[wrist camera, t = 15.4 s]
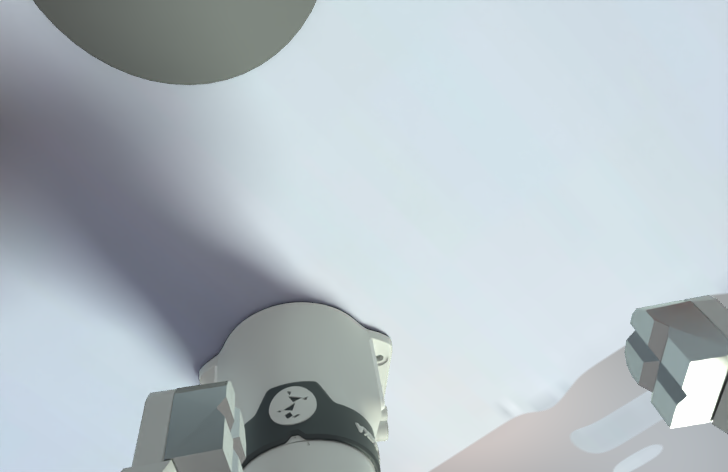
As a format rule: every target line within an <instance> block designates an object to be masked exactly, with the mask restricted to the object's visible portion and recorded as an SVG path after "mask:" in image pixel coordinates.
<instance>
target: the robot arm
mask: <svg viewBox="0 0 728 472" xmlns="http://www.w3.org/2000/svg"><path fill="white" fill-rule="evenodd" d="M630 324H631V325H632V326H633V328H634V329H635V331H634V332H633V334H632V335H631V336H630V337H629V338H628V339H627V340H626V347H625V357H626V363H627V366H628V368H629V371H630V373H631V375H632V376H633V378H634V379H635V381H636V382H637V384H638V385H640V386H641V387H643V388H645V389H647V390H649V391H651V392H652V395H651V403H652V404H653V406H654V407H655V408H656V410H657V411H658V413H659V414H660V415H661V417H662V418H663V419H664V421H665V422H666V423H667V425H668V426H669V427H670V428H676V427H683V426H689V425H695V424H701V423H706V422H712V424H713V425H714V426H716V427H717V428H719V429H721V430H722V431H724V432H725V433H727V434H728V309H727V308H726V307H725V306H724V305H723V304H722V303H720V301H718V300H717V299H716V298H714V297H712V296H710V295H706V296H701V297H695V298H690V299H685V300H679V301H674V302H669V303H663V304H658V305H653V306H647V307H642V308H637V309H636V310H635V311H634V313H633V314H632V318H631V322H630ZM378 355H380V356H378ZM391 355H392V342H391V339H390V338H389V337H388V336H386V335H384V334H381V333H379V332H375V331H372V330H368V329H366V328H364V327H363V326H361V325H360V324H359V323H358V322H357V321H355V320H354V319H353V318H352V317H350V316H349V315H347V314H346V313H344V312H342V311H340V310H338V309H336V308H333V307H330V306H327V305H323V304H317V303H309V302H295V303H286V304H280V305H276V306H273V307H269V308H267V309H264V310H261V311H259V312H257V313H255V314H253V315H252V316H250V317H248V318H247V319H246V320H244V321H243V322H242V323H240V324H239V325H238V326H237V327H236V328H235V329H234V330H233V331H232V333H231V334H230V335H229V337H228V338H227V340H226V342H225V344H224V346H223V348H222V350H221V351H220V353H219V354H218V355H217V356H215V357H214V358H213V359H211V360H210V361H209V362H207V363H206V364H205V365H204V366H203V367H202V368H201V369H200V371H199V381H200V384H201V385H196V386H189V387H183V388H177V389H173V390H167V391H160V392H153V393H150V394H149V396H148V397H147V399H146V402H145V406H144V411H143V416H142V420H141V425H140V430H139V434H138V439H137V444H136V449H135V453H134V458H133V463H132V467H129V468H124V469H123V470H122V471H121V472H380V458H379V457H380V456H379V450H378V447H377V443H376V441H377V442H379V441H386V440H388V423H387V416H388V415H387V407H386V406H385V401H384V396H385V390H386V384H387V378H388V372H389V367H390V361H391Z"/></svg>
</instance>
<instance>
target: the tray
mask: <svg viewBox="0 0 728 472" xmlns="http://www.w3.org/2000/svg"><path fill="white" fill-rule="evenodd" d="M33 1H34V2H35V4H36V5H37V6H38V8H39V9H40V10H41V11H42V12H43V13H44V14H45V16H46V17H47V18H48V19H49V20H50V21H51V22H52V23H53V24H54V25H55V26H56V27H57V28H58V29H59V30H60V31H61V32H62V33H63V34H65V35H66V36H67V37H68V38H69V39H70V40H71V41H72V42H74V43H75V44H76V45H78V46H79V47H81V48H82V49H83V50H85V51H86V52H88V53H89V54H90V55H92V56H94V57H95V58H97V59H99V60H101V61H103V62H104V63H106V64H108V65H110V66H112V67H114V68H116V69H119V70H121V71H123V72H126V73H128V74H130V75H134V76H137V77H140V78H144V79H147V80H150V81H156V82H162V83H167V84H181V85H196V84H209V83H213V82H218V81H223V80H227V79H230V78H233V77H236V76H239V75H242V74H244V73H246V72H248V71H250V70H252V69H254V68H256V67H258V66H260V65H262V64H263V63H264V62H266V61H267V60H269V59H270V58H272V57H273V56H275V55H276V54H277V53H278V52H279V51H280V50H281V49H282V48H283V47H285V46H286V45H287V44H288V43H289V42H290V41H291V39H292V38H293V37H294V36H295V35H296V33H297V32H298V31H299V30H300V29H301V27H302V26H303V24H304V22H305V21H306V19H307V18H308V16H309V14H310V13H311V11H312V9H313V7H314V5H315V3H316V0H33Z"/></svg>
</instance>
